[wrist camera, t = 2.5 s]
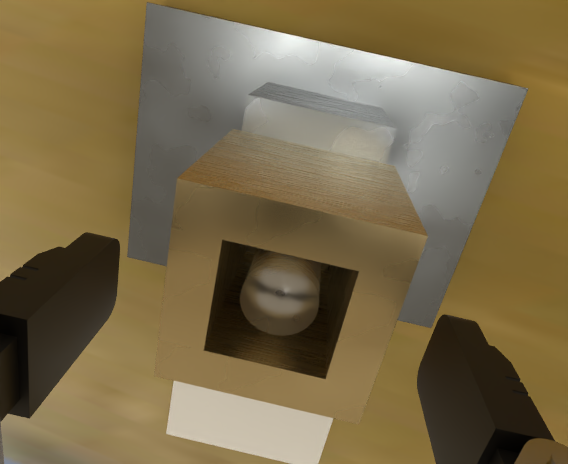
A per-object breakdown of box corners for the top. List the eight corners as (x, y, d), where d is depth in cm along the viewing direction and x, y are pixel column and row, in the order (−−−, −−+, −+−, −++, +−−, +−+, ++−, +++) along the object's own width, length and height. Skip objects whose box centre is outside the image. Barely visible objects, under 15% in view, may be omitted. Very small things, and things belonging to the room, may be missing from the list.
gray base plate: (511, 84, 21) (733, 141, 9) (424, 306, 25) (498, 528, 14) (163, 5, 21) (-49, -36, 9) (142, 241, 26) (-15, 406, 14)
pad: (356, 338, 27) (357, 346, 26) (316, 459, 31) (316, 469, 30) (188, 298, 27) (184, 306, 26) (170, 424, 31) (166, 433, 30)
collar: (394, 165, 15) (427, 236, 10) (351, 304, 18) (358, 424, 12) (232, 128, 16) (176, 178, 10) (209, 271, 18) (153, 375, 12)
